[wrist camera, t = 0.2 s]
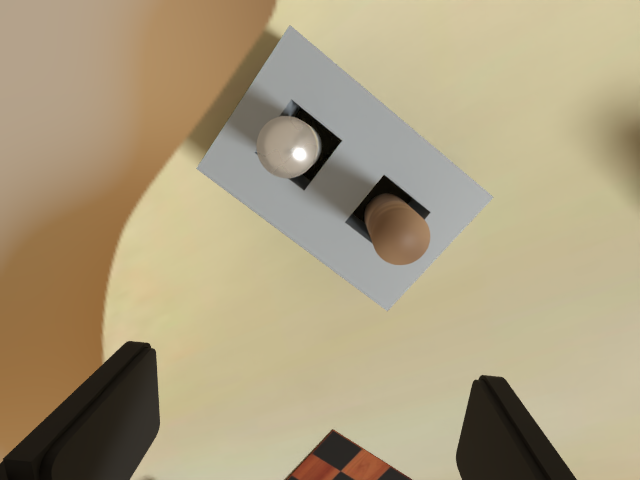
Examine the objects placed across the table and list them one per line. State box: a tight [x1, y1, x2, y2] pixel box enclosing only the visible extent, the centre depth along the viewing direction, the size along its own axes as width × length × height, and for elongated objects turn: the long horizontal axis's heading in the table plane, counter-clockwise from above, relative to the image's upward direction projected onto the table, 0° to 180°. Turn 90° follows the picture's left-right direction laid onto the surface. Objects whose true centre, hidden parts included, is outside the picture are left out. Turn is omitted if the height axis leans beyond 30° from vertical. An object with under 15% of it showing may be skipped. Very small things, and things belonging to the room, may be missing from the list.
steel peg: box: [256, 116, 322, 178], centre depth 27 cm, size 4×4×8 cm
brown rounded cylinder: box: [364, 193, 430, 265], centre depth 28 cm, size 4×4×8 cm
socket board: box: [196, 25, 493, 311], centre depth 34 cm, size 14×22×8 cm, turn 52°
